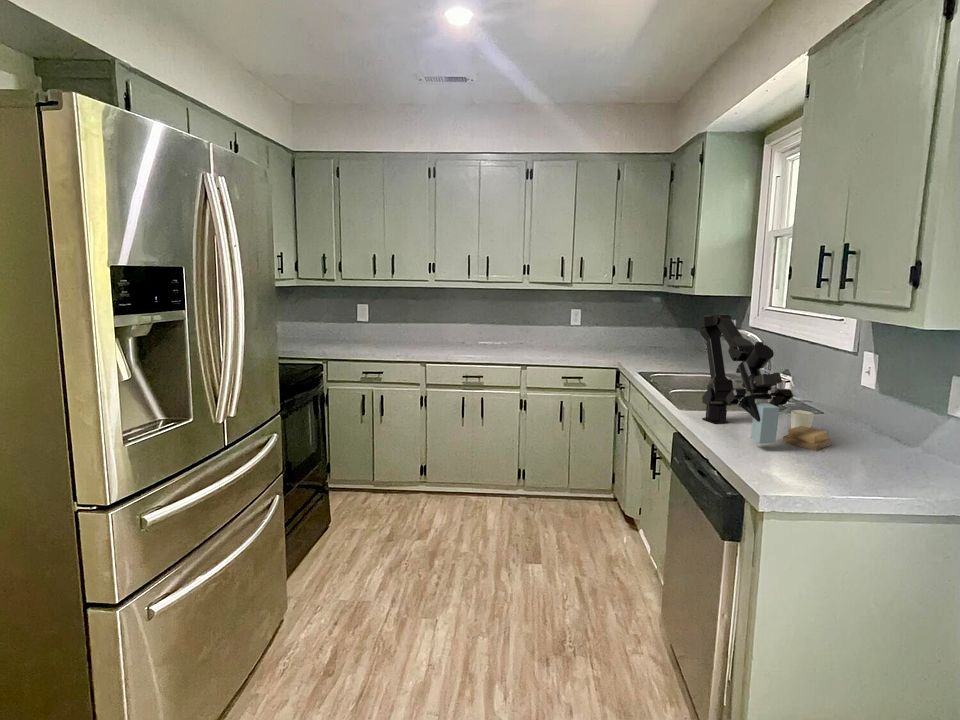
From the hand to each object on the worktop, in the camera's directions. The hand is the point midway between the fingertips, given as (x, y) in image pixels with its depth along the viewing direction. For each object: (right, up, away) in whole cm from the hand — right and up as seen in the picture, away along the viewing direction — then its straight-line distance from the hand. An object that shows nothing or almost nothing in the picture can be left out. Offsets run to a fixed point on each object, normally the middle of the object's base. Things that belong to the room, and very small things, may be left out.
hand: (767, 420), depth 172 cm
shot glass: (+22, -6, +22) cm, 32 cm away
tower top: (+17, -6, +8) cm, 20 cm away
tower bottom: (+17, -9, +9) cm, 21 cm away
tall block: (0, -6, +3) cm, 7 cm away
